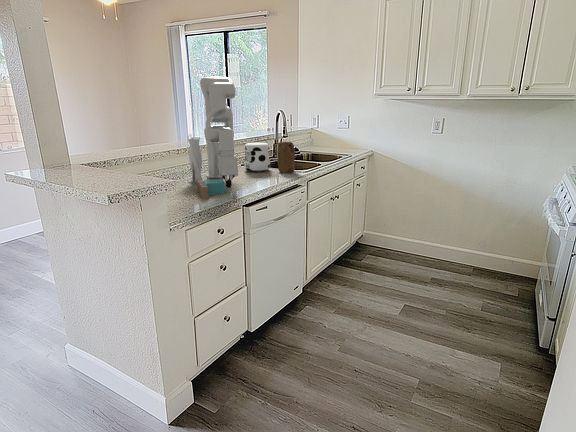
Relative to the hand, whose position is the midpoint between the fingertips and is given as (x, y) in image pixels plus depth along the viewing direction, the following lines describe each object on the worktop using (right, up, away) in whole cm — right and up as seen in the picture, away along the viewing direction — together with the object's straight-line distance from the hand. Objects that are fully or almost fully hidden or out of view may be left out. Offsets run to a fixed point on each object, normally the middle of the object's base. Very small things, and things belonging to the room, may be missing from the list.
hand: (228, 187), depth 204 cm
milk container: (+11, +15, +53) cm, 56 cm away
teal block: (-7, -3, 0) cm, 8 cm away
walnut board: (-13, -4, -4) cm, 14 cm away
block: (+31, +14, +49) cm, 59 cm away
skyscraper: (-22, +4, +21) cm, 31 cm away
